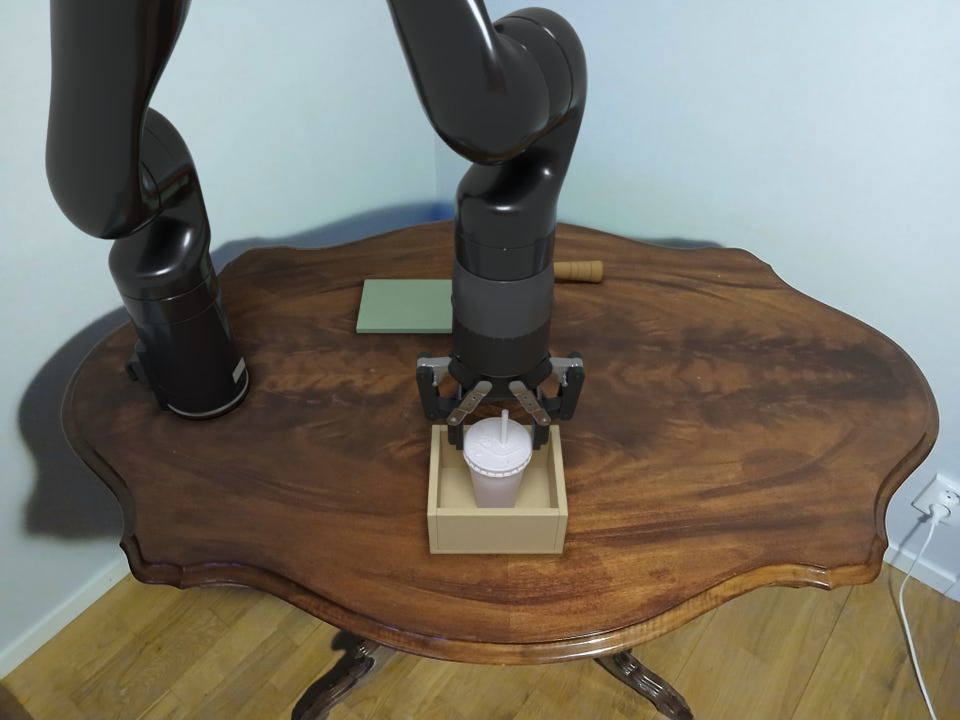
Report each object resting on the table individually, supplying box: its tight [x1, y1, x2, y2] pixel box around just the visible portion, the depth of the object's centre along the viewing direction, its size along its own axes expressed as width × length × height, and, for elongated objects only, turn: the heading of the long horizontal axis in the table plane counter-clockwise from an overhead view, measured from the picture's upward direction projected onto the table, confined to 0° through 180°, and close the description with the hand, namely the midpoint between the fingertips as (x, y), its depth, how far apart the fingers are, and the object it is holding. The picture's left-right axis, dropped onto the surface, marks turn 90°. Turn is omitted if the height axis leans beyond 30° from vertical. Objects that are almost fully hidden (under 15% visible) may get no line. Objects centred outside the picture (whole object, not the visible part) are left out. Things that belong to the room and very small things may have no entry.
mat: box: [356, 278, 453, 334], centre depth 95 cm, size 12×10×1 cm
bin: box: [426, 424, 569, 555], centre depth 71 cm, size 13×11×6 cm
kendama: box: [553, 260, 604, 283], centre depth 97 cm, size 8×6×18 cm
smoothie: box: [463, 409, 532, 508], centre depth 68 cm, size 6×6×14 cm
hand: (497, 442), depth 66 cm, fingers closed on smoothie, 6 cm apart
